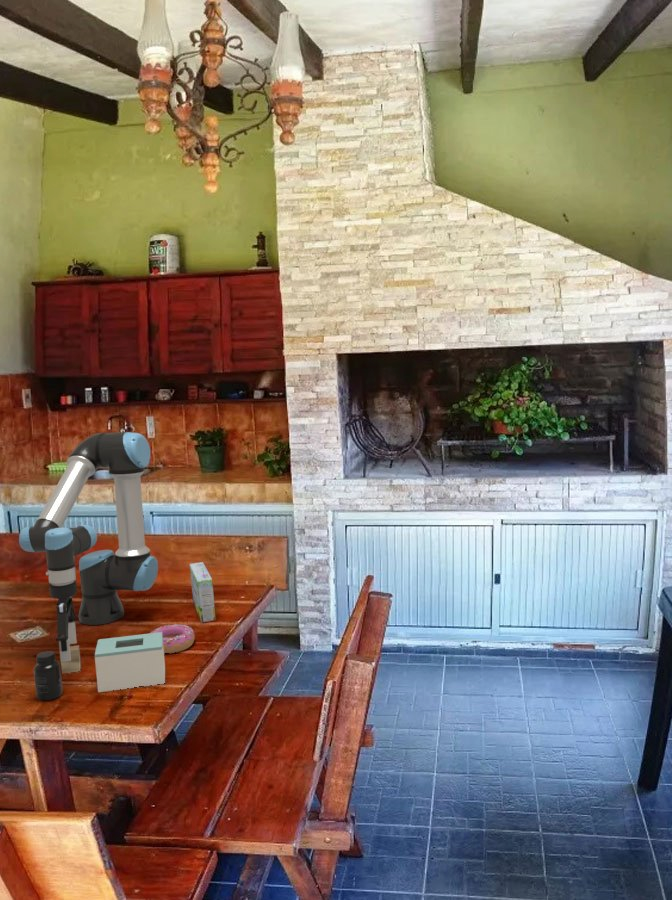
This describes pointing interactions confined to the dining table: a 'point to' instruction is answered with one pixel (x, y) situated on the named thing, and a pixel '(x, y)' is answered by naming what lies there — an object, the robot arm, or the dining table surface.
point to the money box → (130, 662)
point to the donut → (176, 637)
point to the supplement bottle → (47, 676)
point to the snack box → (202, 592)
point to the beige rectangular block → (72, 661)
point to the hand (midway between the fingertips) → (68, 652)
